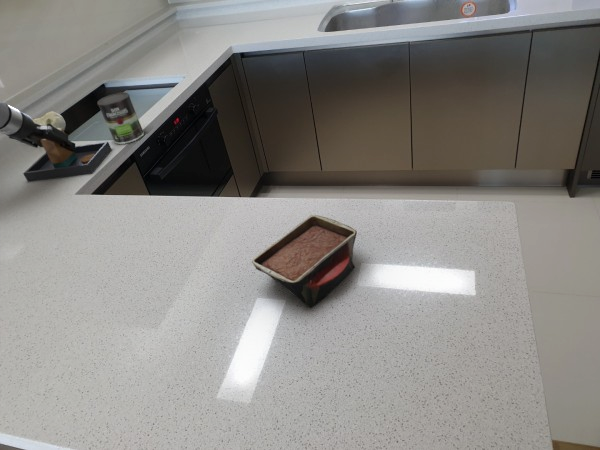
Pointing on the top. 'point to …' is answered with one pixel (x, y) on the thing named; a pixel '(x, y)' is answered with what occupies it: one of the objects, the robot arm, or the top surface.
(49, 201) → the top surface
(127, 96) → the coffee can
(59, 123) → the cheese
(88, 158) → the grease smear
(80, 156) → the pan
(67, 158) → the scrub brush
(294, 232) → the baking dish
